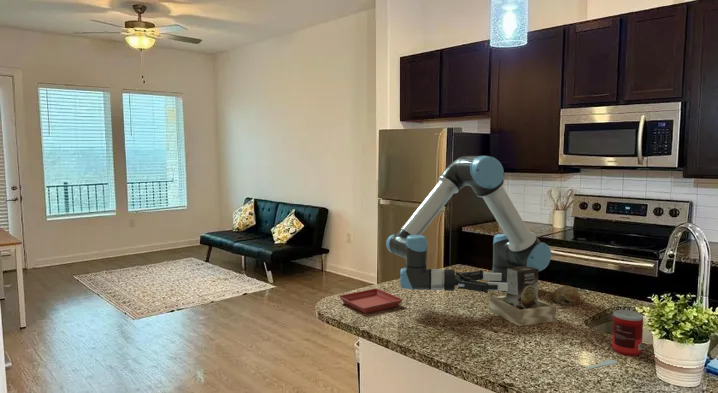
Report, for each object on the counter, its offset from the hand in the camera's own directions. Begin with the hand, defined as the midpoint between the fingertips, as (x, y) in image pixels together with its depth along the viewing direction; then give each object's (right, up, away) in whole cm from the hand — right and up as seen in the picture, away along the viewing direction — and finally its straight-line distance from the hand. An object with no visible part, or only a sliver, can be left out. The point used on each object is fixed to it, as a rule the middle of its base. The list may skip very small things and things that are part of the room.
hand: (504, 281), depth 174 cm
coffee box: (+6, -11, 0) cm, 13 cm away
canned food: (+26, -15, -31) cm, 43 cm away
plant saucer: (-47, -12, +14) cm, 50 cm away
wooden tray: (+6, -12, 0) cm, 14 cm away
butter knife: (+9, -16, -43) cm, 47 cm away
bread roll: (+29, -11, +18) cm, 36 cm away
